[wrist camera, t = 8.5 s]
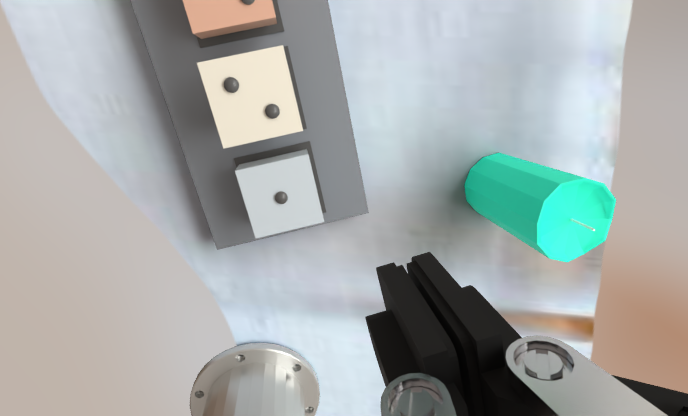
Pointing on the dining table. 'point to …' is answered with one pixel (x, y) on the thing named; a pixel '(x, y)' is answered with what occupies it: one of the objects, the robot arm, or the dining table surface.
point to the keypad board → (220, 164)
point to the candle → (541, 205)
